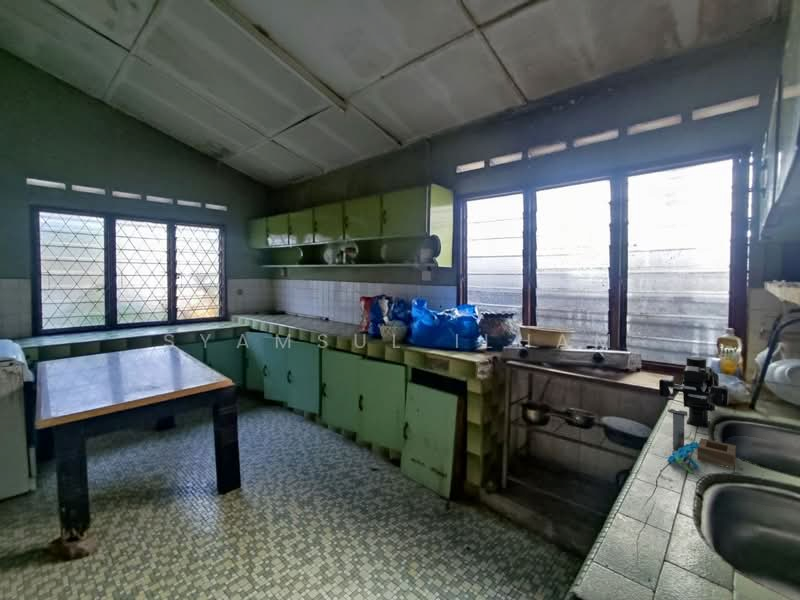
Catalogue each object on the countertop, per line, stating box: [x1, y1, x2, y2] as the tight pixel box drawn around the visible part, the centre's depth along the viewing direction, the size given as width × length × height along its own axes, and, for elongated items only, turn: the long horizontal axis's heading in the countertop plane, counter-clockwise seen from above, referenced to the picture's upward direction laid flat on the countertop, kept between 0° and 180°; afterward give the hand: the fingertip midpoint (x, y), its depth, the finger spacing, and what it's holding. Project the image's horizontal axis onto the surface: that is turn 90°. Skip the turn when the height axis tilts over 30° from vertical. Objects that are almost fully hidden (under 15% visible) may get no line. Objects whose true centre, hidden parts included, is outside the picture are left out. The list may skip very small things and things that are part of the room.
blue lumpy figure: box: [667, 441, 700, 474], centre depth 109 cm, size 11×6×10 cm
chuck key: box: [667, 408, 688, 452], centre depth 119 cm, size 3×5×13 cm, turn 45°
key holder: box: [696, 437, 737, 469], centre depth 113 cm, size 8×8×4 cm
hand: (688, 398), depth 120 cm, fingers open, 9 cm apart
